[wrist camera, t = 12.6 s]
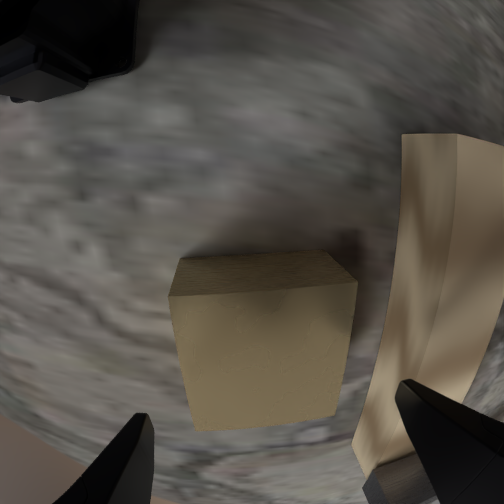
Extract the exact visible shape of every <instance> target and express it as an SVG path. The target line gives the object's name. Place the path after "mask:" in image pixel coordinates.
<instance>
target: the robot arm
mask: <svg viewBox="0 0 504 504" xmlns="http://www.w3.org/2000/svg"><path fill="white" fill-rule="evenodd" d="M138 5H139V0H0V95H6V96H10V99H11V101H12V102H14V103H22V102H25V101H28V100H30V101H35V102H42V101H45V100H48V99H51V98H55V97H58V96H61V95H65V94H68V93H72V92H76V91H80V90H83V89H85V87H86V86H87V85H88V84H89V82H92V81H96V80H100V79H105V78H109V77H114V76H119V75H124V74H127V73H128V72H130V71H131V70H132V68H133V67H134V63H135V43H136V28H137V15H138ZM123 59H126V60H127V62H126V64H125V65H124V66H123V67H118V63H119V62H120V61H121V60H123ZM395 403H396V405H397V408H398V411H399V413H400V416H401V419H402V422H403V424H404V427H405V430H406V432H407V434H408V436H409V438H410V441H411V443H412V445H413V447H414V449H415V451H416V453H417V455H418V457H419V459H420V461H421V463H422V465H423V467H424V470H425V472H426V474H427V476H428V478H429V480H430V482H431V485H432V487H433V489H434V491H435V493H436V496H437V498H438V500H439V502H440V504H504V423H503V422H500V421H497V420H495V419H492V418H490V417H488V416H486V415H484V414H482V413H479V412H477V411H475V410H473V409H471V408H469V407H467V406H465V405H463V404H461V403H459V402H457V401H455V400H452V399H450V398H448V397H446V396H444V395H442V394H440V393H438V392H436V391H434V390H432V389H430V388H428V387H426V386H425V385H423V384H421V383H419V382H417V381H415V380H413V379H410V378H408V379H405V380H402V381H400V382H399V385H398V388H397V391H396V394H395ZM153 474H154V428H153V425H152V422H151V420H150V417H149V415H148V414H147V413H135V414H134V415H133V417H132V418H131V419H130V420H129V421H128V422H127V424H126V425H125V426H124V427H123V428H122V429H121V430H120V432H119V433H118V434H117V435H116V436H115V437H114V439H113V440H112V441H111V442H110V443H109V444H108V445H107V447H106V448H105V449H104V450H103V451H102V452H101V453H100V455H99V456H98V457H97V458H96V459H95V460H94V461H93V463H92V464H91V465H90V466H89V467H88V468H87V469H86V471H85V472H84V473H83V474H82V475H81V476H82V477H79V478H78V479H77V480H76V482H75V483H74V484H73V485H72V486H71V487H70V488H69V489H68V490H67V491H66V492H65V493H64V494H63V495H62V496H61V497H60V498H58V499H57V500H56V501H55V502H54V503H52V504H150V499H151V491H152V482H153Z"/></svg>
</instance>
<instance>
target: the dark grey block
mask: <svg viewBox="0 0 504 504" xmlns="http://www.w3.org/2000/svg"><path fill="white" fill-rule="evenodd" d="M362 489H363V491H364V494H365V496H366V498H367V501H368V503H369V504H440V502H439V500H438V498H437V496H436V493H435V491H434V489H433V487H432V485H431V482H430V480H429V478H428V476H427V474H426V472H425V470H424V467H423V465H422V463H421V461H420V459H419V457H418V455H417V453H416V454H413V455H411V456H408V457H406V458H403V459H401V460H398V461H396V462H393V463H390V464H387V465H385V466H382V467H379V468H376V469H373V470H372V472H371V474H370V475H369V477H368V479H367V481H366V482H365V484H364V486H363V487H362Z"/></svg>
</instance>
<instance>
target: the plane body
mask: <svg viewBox="0 0 504 504" xmlns="http://www.w3.org/2000/svg"><path fill="white" fill-rule="evenodd" d="M503 299H504V146H501V145H498V144H495V143H491V142H488V141H484V140H480V139H476V138H473V137H469V136H465V135H460V134H402V172H401V197H400V213H399V226H398V237H397V246H396V255H395V263H394V270H393V278H392V284H391V291H390V297H389V303H388V308H387V314H386V319H385V324H384V329H383V334H382V338H381V343H380V347H379V352H378V356H377V360H376V364H375V368H374V372H373V376H372V380H371V383H370V387H369V391H368V394H367V397H366V401H365V404H364V408H363V411H362V414H361V417H360V420H359V423H358V426H357V429H356V432H355V435H354V438H353V441H352V444H351V446H352V448H353V450H354V452H355V455H356V457H357V459H358V461H359V463H360V466H361V468H362V470H363V472H364V475H365V477H366V479H368V477H369V475H370V474H371V472H372V470H373V469H376V468H379V467H382V466H385V465H387V464H390V463H393V462H396V461H398V460H401V459H403V458H406V457H408V456H411V455H413V454H416V451H415V449H414V447H413V445H412V443H411V441H410V438H409V436H408V434H407V432H406V430H405V427H404V424H403V422H402V419H401V416H400V413H399V411H398V408H397V405H396V403H395V394H396V391H397V388H398V385H399V382H400V381H402V380H405V379H408V378H410V379H413V380H415V381H417V382H419V383H421V384H423V385H425V386H426V387H428V388H430V389H432V390H434V391H436V392H438V393H440V394H442V395H444V396H446V397H448V398H450V399H452V400H455V401H457V402H459V403H462V402H463V400H464V398H465V396H466V394H467V392H468V390H469V388H470V386H471V383H472V381H473V379H474V377H475V375H476V373H477V370H478V368H479V366H480V364H481V361H482V359H483V356H484V354H485V352H486V349H487V346H488V344H489V341H490V339H491V336H492V333H493V330H494V327H495V325H496V322H497V319H498V315H499V312H500V309H501V306H502V302H503Z"/></svg>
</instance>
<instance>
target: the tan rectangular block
mask: <svg viewBox="0 0 504 504" xmlns="http://www.w3.org/2000/svg"><path fill="white" fill-rule="evenodd" d="M357 288H358V282H357V281H356V280H355V279H354V278H353V277H352V276H351V275H350V274H349V273H348V272H347V271H346V270H345V269H344V268H343V267H342V266H341V265H339V264H338V263H337V262H336V261H335V260H334V259H333V258H332V257H331V256H330V255H329V254H328V253H327V252H326V251H324V250H312V251H296V252H280V253H263V254H247V255H231V256H214V257H198V258H181V259H180V260H179V263H178V266H177V269H176V272H175V276H174V279H173V282H172V285H171V288H170V292H169V295H168V300H169V307H170V313H171V319H172V325H173V330H174V336H175V341H176V347H177V352H178V357H179V362H180V367H181V372H182V376H183V381H184V385H185V390H186V394H187V399H188V403H189V407H190V411H191V415H192V419H193V423H194V427H195V431H217V430H233V429H246V428H256V427H265V426H274V425H281V424H288V423H295V422H301V421H307V420H313V419H318V418H323V417H328V416H333V415H335V412H336V408H337V403H338V399H339V394H340V390H341V385H342V380H343V375H344V370H345V365H346V360H347V354H348V349H349V343H350V337H351V331H352V324H353V318H354V311H355V303H356V296H357Z"/></svg>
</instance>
